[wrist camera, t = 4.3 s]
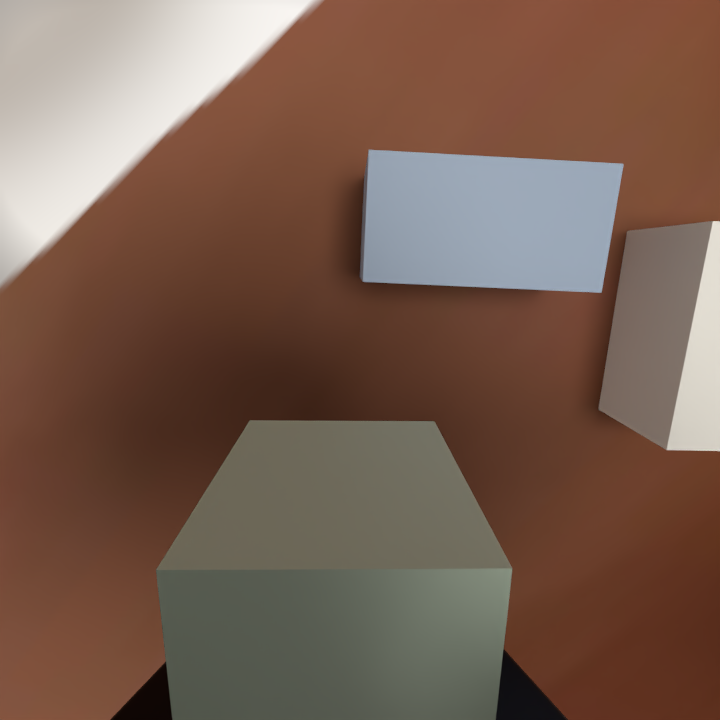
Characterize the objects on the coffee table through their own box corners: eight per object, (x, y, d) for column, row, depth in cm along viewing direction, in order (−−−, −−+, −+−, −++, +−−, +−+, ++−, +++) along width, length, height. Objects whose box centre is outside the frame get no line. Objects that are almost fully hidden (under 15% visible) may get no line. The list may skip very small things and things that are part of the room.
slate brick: (555, 188, 16) (623, 163, 12) (541, 285, 16) (601, 292, 12) (363, 178, 15) (368, 149, 11) (359, 276, 16) (362, 282, 12)
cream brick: (679, 409, 18) (772, 451, 14) (596, 408, 18) (666, 450, 14) (715, 233, 16) (832, 225, 12) (624, 231, 16) (713, 221, 12)
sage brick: (417, 710, 10) (463, 1011, 6) (263, 712, 10) (205, 1019, 6) (434, 421, 8) (512, 568, 4) (249, 420, 8) (156, 569, 4)
